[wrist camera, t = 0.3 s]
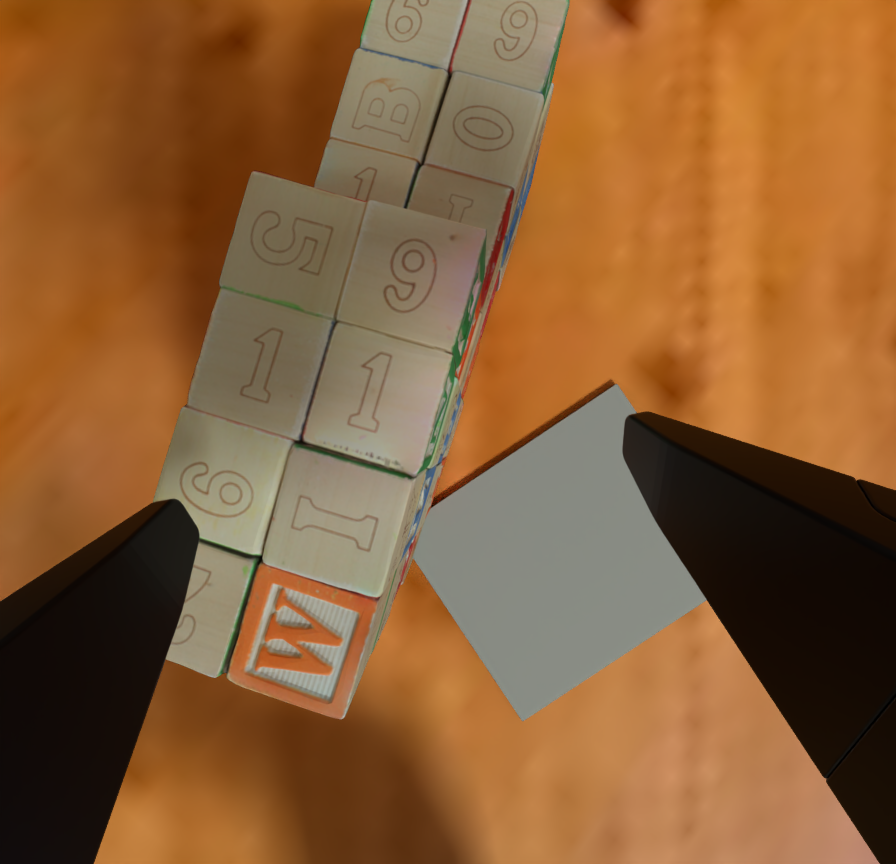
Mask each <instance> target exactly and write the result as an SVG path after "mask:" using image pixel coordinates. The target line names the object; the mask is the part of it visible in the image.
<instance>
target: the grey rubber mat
mask: <svg viewBox="0 0 896 864" xmlns="http://www.w3.org/2000/svg"><path fill="white" fill-rule="evenodd" d="M635 413H636V411H635V410H634V408H633V407H632V405H631V404H630V402H629V401H628V399H627V398H626V396H625V395H624V393H623V392H622V390H621V389H620V388H619V386H618V385H617V384H615V385H613V386H612V387H610V388H609V389H607V390H606V391H604V392H603V393H601V394H600V395H598V396H597V397H595V398H594V399H592V400H591V401H589V402H588V403H586V404H585V405H583V406H582V407H580V408H579V409H577V410H576V411H574V412H573V413H571V414H570V415H568V416H567V417H565V418H564V419H562V420H561V421H559V422H558V423H556V424H555V425H553V426H552V427H550V428H549V429H547V430H546V431H544V432H543V433H541V434H540V435H538V436H537V437H535V438H534V439H532V440H531V441H530V442H528V443H527V444H525V445H524V446H522V447H521V448H519V449H518V450H516V451H515V452H513V453H512V454H510V455H509V456H507V457H506V458H504V459H503V460H501V461H500V462H498V463H497V464H495V465H494V466H492V467H491V468H489V469H488V470H486V471H485V472H483V473H482V474H480V475H479V476H477V477H476V478H474V479H473V480H471V481H470V482H468V483H467V484H465V485H464V486H462V487H461V488H459V489H458V490H456V491H455V492H453V493H452V494H450V495H449V496H447V497H446V498H444V499H443V500H441V501H440V502H438V503H437V504H435V505H434V506H432V507H431V508H430V511H429V513H428V514H427V516H426V518H425V522H424V525H423V528H422V531H421V534H420V537H419V540H418V543H417V546H416V549H415V553H414V556H413V558H414V560H415V561H416V563H417V564H418V566H419V567H420V569H421V570H422V572H423V573H424V575H425V576H426V578H427V579H428V581H429V582H430V584H431V585H432V587H433V588H434V590H435V591H436V593H437V594H438V596H439V597H440V599H441V600H442V602H443V603H444V605H445V606H446V608H447V609H448V611H449V612H450V614H451V615H452V617H453V618H454V620H455V621H456V623H457V624H458V626H459V627H460V629H461V630H462V632H463V633H464V635H465V636H466V638H467V639H468V641H469V642H470V644H471V645H472V647H473V648H474V650H475V651H476V653H477V654H478V656H479V657H480V659H481V660H482V662H483V663H484V665H485V666H486V668H487V669H488V671H489V672H490V674H491V675H492V677H493V678H494V680H495V681H496V683H497V684H498V686H499V687H500V689H501V690H502V692H503V693H504V695H505V696H506V697H507V699H508V700H509V702H510V703H511V705H512V706H513V708H514V709H515V711H516V712H517V714H518V715H519V717H520V718H521V720H522V721H524V720H526V719H527V718H529V717H530V716H532V715H533V714H535V713H536V712H538V711H539V710H541V709H542V708H544V707H545V706H547V705H548V704H550V703H551V702H553V701H554V700H556V699H557V698H559V697H560V696H562V695H563V694H565V693H567V692H568V691H570V690H571V689H573V688H574V687H576V686H577V685H579V684H580V683H582V682H583V681H585V680H586V679H588V678H589V677H591V676H592V675H594V674H595V673H597V672H598V671H600V670H601V669H603V668H604V667H606V666H607V665H609V664H610V663H612V662H613V661H615V660H617V659H618V658H620V657H621V656H623V655H624V654H626V653H627V652H629V651H630V650H632V649H633V648H635V647H636V646H638V645H639V644H641V643H642V642H644V641H645V640H647V639H648V638H650V637H651V636H653V635H654V634H656V633H657V632H659V631H660V630H662V629H664V628H665V627H667V626H668V625H670V624H671V623H673V622H674V621H676V620H677V619H679V618H680V617H682V616H683V615H685V614H686V613H688V612H689V611H691V610H692V609H694V608H695V607H697V606H698V605H700V604H701V603H703V602H704V601H706V598H705V597H704V595H703V594H702V592H701V591H700V589H699V587H698V586H697V584H696V583H695V581H694V580H693V578H692V577H691V575H690V574H689V572H688V571H687V569H686V568H685V566H684V565H683V563H682V562H681V560H680V559H679V557H678V556H677V554H676V553H675V551H674V549H673V548H672V546H671V545H670V543H669V542H668V540H667V539H666V537H665V536H664V534H663V533H662V531H661V530H660V528H659V526H658V525H657V523H656V521H655V520H654V518H653V516H652V514H651V512H650V510H649V508H648V506H647V504H646V502H645V500H644V498H643V496H642V494H641V492H640V490H639V488H638V486H637V484H636V482H635V480H634V478H633V476H632V474H631V472H630V470H629V468H628V466H627V464H626V462H625V460H624V457H623V453H622V446H623V435H624V423H625V419H626V417H627V416H628V415H630V414H635Z"/></svg>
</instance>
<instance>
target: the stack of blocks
mask: <svg viewBox="0 0 896 864" xmlns="http://www.w3.org/2000/svg"><path fill="white" fill-rule="evenodd" d="M568 8H569V0H371V4H370V7H369V10H368V13H367V16H366V20H365V24H364V27H363V32H362V35H361V40H360V48H358V49H357V50H355V53H354V55H353V58H352V62H351V65H350V69H349V72H348V75H347V78H346V81H345V85H344V88H343V91H342V95H341V98H340V102H339V105H338V109H337V112H336V115H335V118H334V121H333V124H332V128H331V132H330V139H329V141H328V142H327V144H326V147H325V149H324V152H323V156H322V159H321V163H320V166H319V169H318V173H317V176H316V180H315V184H314V187H311V186H307V185H304V184H300V183H296V182H293V181H290V180H287V179H284V178H281V177H278V176H274V175H271V174H268V173H264V172H260V171H255V170H254V171H253V172H251V175H250V178H249V181H248V184H247V187H246V191H245V194H244V198H243V201H242V204H241V208H240V211H239V214H238V218H237V222H236V226H235V230H234V233H233V236H232V239H231V242H230V245H229V248H228V252H227V255H226V259H225V262H224V266H223V269H222V273H221V276H220V280H219V284H220V291H219V293H218V296H217V299H216V301H215V304H214V307H213V310H212V313H211V316H210V319H209V323H208V326H207V330H206V333H205V337H204V340H203V344H202V349H201V353H200V356H199V359H198V362H197V364H196V368H195V371H194V374H193V377H192V381H191V385H190V389H189V393H188V400H187V404H186V405H185V406H184V407H183V408H181V411H180V414H179V417H178V420H177V423H176V426H175V430H174V433H173V437H172V440H171V443H170V446H169V449H168V453H167V456H166V459H165V462H164V465H163V469H162V472H161V475H160V479H159V482H158V486H157V489H156V493H155V496H154V499H153V502H156V501H162V500H167V499H177V500H179V501H180V502H181V503H182V504H183V505H184V507H185V508H186V510H187V511H188V513H189V515H190V516H191V518H192V519H193V521H194V522H195V524H196V525H197V527H198V530H199V534H200V538H199V544H198V548H197V552H196V556H195V561H194V565H193V569H192V573H191V578H190V582H189V586H188V590H187V594H186V599H185V602H184V606H183V610H182V613H181V616H180V619H179V622H178V625H177V628H176V631H175V634H174V637H173V639H172V642H171V645H170V648H169V651H168V654H167V657H166V660H169V661H172V662H175V663H177V664H180V665H182V666H185V667H187V668H190V669H192V670H195V671H197V672H200V673H202V674H205V675H207V676H210V677H214V678H216V677H218V676H220V675H221V674H223V673H227V675H226V677H227V678H228V679H229V680H230V681H232V682H233V683H235V684H237V685H239V686H241V687H243V688H246V689H249V690H252V691H256V692H259V693H261V694H264V695H267V696H270V697H273V698H276V699H278V700H281V701H284V702H287V703H290V704H293V705H296V706H299V707H302V708H305V709H308V710H311V711H314V712H317V713H320V714H323V715H326V716H329V717H333V718H337V719H343V718H344V717H345V715H346V713H347V711H348V708H349V706H350V704H351V701H352V699H353V696H354V694H355V691H356V689H357V687H358V684H359V682H360V679H361V677H362V674H363V672H364V669H365V667H366V664H367V662H368V659H369V657H370V654H372V652H373V650H374V647H375V645H376V643H377V641H378V640H379V637H380V635H381V632H382V630H383V628H384V626H385V624H386V621H387V619H388V617H389V614H390V610H391V606H392V603H393V601H394V599H395V596H396V594H397V591H398V589H399V587H400V585H402V584H403V583H404V580H405V578H406V575H407V573H408V570H409V567H410V565H411V562H412V559H413V556H414V553H415V549H416V546H417V543H418V540H419V537H420V534H421V531H422V528H423V525H424V522H425V518H426V516H427V514H428V513H429V511H430V508H431V505H432V502H433V499H434V495H435V492H436V489H437V486H438V483H439V480H440V476H441V473H442V470H443V467H444V464H445V461H446V457H447V454H448V452H449V449H450V446H451V443H452V440H453V437H454V434H455V431H456V427H457V424H458V421H459V418H460V415H461V412H462V409H463V405H464V402H463V397H464V394H465V392H466V388H467V385H468V382H469V378H470V375H471V372H472V369H473V366H474V363H475V359H476V356H477V353H478V350H479V344H480V340H481V337H482V334H483V331H484V327H485V324H486V321H487V318H488V314H489V311H490V308H491V305H492V302H493V299H494V295H495V292H496V291H498V290H499V288H500V285H501V282H502V279H503V276H504V273H505V269H506V266H507V263H508V260H509V257H510V254H511V250H512V247H513V244H514V241H515V238H516V234H517V229H518V225H519V222H520V219H521V215H522V212H523V209H524V206H525V203H526V199H527V196H528V193H529V190H530V186H531V183H532V178H533V174H534V169H535V164H536V161H537V156H538V152H539V148H540V144H541V140H542V137H543V133H544V128H545V124H546V120H547V115H548V111H549V106H550V102H551V97H552V93H553V86H554V84H553V83H552V78H553V74H554V70H555V65H556V61H557V57H558V52H559V47H560V42H561V38H562V34H563V30H564V26H565V20H566V16H567V12H568Z"/></svg>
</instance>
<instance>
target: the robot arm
mask: <svg viewBox="0 0 896 864" xmlns="http://www.w3.org/2000/svg"><path fill="white" fill-rule="evenodd" d="M622 453H623V457H624V460H625V462H626V464H627V466H628V468H629V470H630V472H631V474H632V476H633V478H634V480H635V482H636V484H637V486H638V488H639V490H640V492H641V494H642V496H643V498H644V500H645V502H646V504H647V506H648V508H649V510H650V512H651V514H652V516H653V518H654V520H655V521H656V523H657V525H658V526H659V528H660V530H661V531H662V533H663V534H664V536H665V537H666V539H667V540H668V542H669V543H670V545H671V546H672V548H673V549H674V551H675V553H676V554H677V556H678V557H679V559H680V560H681V562H682V563H683V565H684V566H685V568H686V569H687V571H688V572H689V574H690V575H691V577H692V578H693V580H694V581H695V583H696V584H697V586H698V587H699V589H700V591H701V592H702V594H703V595H704V597H705V598H706V600H707V601H708V603H709V604H710V606H711V607H712V609H713V610H714V612H715V613H716V615H717V616H718V618H719V619H720V621H721V622H722V624H723V625H724V627H725V629H726V630H727V632H728V633H729V635H730V636H731V638H732V639H733V641H734V642H735V644H736V645H737V647H738V648H739V650H740V651H741V653H742V654H743V656H744V657H745V659H746V660H747V662H748V663H749V665H750V667H751V668H752V670H753V671H754V673H755V674H756V676H757V677H758V679H759V680H760V682H761V683H762V685H763V686H764V688H765V689H766V691H767V692H768V694H769V695H770V697H771V698H772V700H773V701H774V703H775V705H776V706H777V708H778V709H779V711H780V712H781V714H782V715H783V717H784V718H785V720H786V721H787V723H788V724H789V726H790V727H791V729H792V730H793V732H794V733H795V735H796V736H797V738H798V740H799V741H800V743H801V744H802V746H803V747H804V749H805V750H806V752H807V753H808V755H809V756H810V758H811V759H812V761H813V762H814V764H815V765H816V767H817V768H818V770H819V771H820V773H821V774H822V776H823V777H824V778H826V783H827V784H828V786H829V787H830V789H831V790H832V792H833V793H834V795H835V796H836V798H837V799H838V801H839V803H840V804H841V806H842V807H843V809H844V810H845V812H846V813H847V815H848V816H849V818H850V819H851V821H852V822H853V824H854V825H855V827H856V828H857V830H858V831H859V833H860V834H861V836H862V837H863V839H864V841H865V842H866V844H867V845H868V847H869V848H870V850H871V851H872V853H873V854H874V856H875V857H876V859H877V860H878V862H879V863H880V864H896V490H893V489H889V488H886V487H883V486H880V485H877V484H874V483H871V482H868V481H865V480H861V479H859V480H857V481H856V479H855V478H854V477H852V476H849V475H845V474H842V473H839V472H836V471H833V470H830V469H827V468H824V467H820V466H817V465H814V464H811V463H808V462H805V461H802V460H799V459H795V458H792V457H789V456H786V455H783V454H780V453H777V452H774V451H770V450H767V449H764V448H761V447H758V446H755V445H752V444H749V443H745V442H742V441H739V440H736V439H733V438H730V437H727V436H724V435H721V434H717V433H714V432H711V431H708V430H705V429H702V428H699V427H696V426H692V425H689V424H686V423H683V422H680V421H677V420H674V419H671V418H667V417H664V416H661V415H658V414H655V413H652V412H641V413H635V414H630V415H628V416H627V417H626V419H625V423H624V435H623V446H622ZM199 538H200V534H199V530H198V527H197V525H196V524H195V522H194V521H193V519H192V518H191V516H190V515H189V513H188V511H187V510H186V508H185V507H184V505H183V504H182V503H181V502H180V501H179V500H177V499H167V500H162V501H156V502H153V503H151V504H150V505H148V506H146V507H145V508H143V509H142V510H140V511H139V512H137V513H136V514H134V515H133V516H131V517H130V518H128V519H126V520H125V521H123V522H122V523H120V524H119V525H117V526H116V527H114V528H113V529H111V530H110V531H108V532H106V533H105V534H103V535H102V536H100V537H99V538H97V539H96V540H94V541H93V542H91V543H90V544H88V545H86V546H85V547H83V548H82V549H80V550H79V551H77V552H76V553H74V554H73V555H71V556H70V557H68V558H66V559H65V560H63V561H62V562H60V563H59V564H57V565H56V566H54V567H53V568H51V569H50V570H48V571H46V572H45V573H43V574H42V575H40V576H39V577H37V578H36V579H34V580H33V581H31V582H30V583H28V584H26V585H25V586H23V587H22V588H20V589H19V590H17V591H16V592H14V593H13V594H11V595H10V596H8V597H6V598H5V599H3V600H2V601H0V864H94V862H95V859H96V856H97V853H98V850H99V847H100V844H101V842H102V839H103V836H104V833H105V830H106V827H107V825H108V822H109V819H110V816H111V813H112V810H113V807H114V805H115V802H116V799H117V796H118V793H119V790H120V788H121V785H122V782H123V779H124V776H125V773H126V770H127V768H128V765H129V762H130V759H131V756H132V753H133V750H134V748H135V745H136V742H137V739H138V736H139V733H140V731H141V728H142V725H143V722H144V719H145V716H146V713H147V711H148V708H149V705H150V702H151V699H152V696H153V694H154V691H155V688H156V685H157V682H158V679H159V676H160V674H161V671H162V668H163V665H164V662H165V659H166V657H167V654H168V651H169V648H170V645H171V642H172V639H173V637H174V634H175V631H176V628H177V625H178V622H179V619H180V616H181V613H182V610H183V606H184V602H185V599H186V594H187V590H188V586H189V582H190V578H191V573H192V569H193V565H194V561H195V556H196V552H197V548H198V544H199Z"/></svg>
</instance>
